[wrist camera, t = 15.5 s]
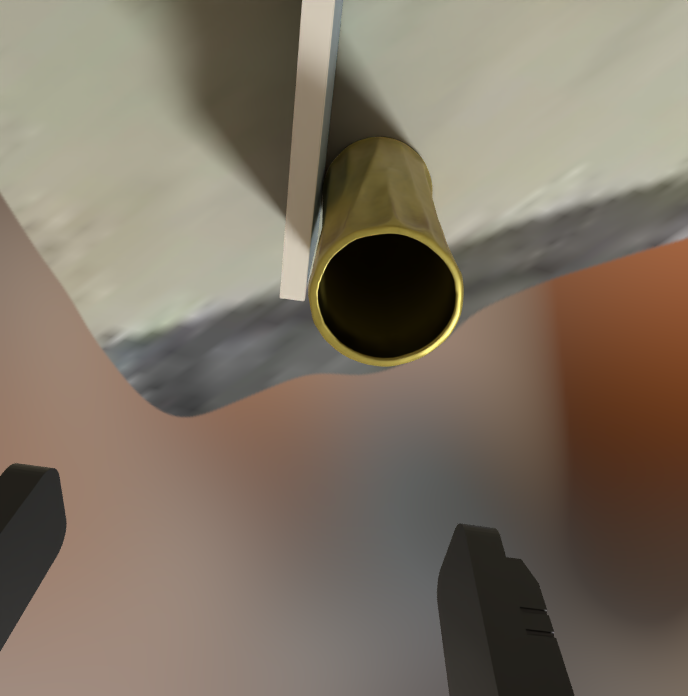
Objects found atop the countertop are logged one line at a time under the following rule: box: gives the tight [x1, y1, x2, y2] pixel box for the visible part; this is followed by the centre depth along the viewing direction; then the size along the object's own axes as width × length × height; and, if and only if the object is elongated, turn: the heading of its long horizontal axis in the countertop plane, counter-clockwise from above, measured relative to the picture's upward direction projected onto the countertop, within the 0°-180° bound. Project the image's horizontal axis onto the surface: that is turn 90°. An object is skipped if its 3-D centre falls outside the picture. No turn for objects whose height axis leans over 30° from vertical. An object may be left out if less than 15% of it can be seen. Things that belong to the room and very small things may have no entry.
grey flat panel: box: [280, 0, 343, 301], centre depth 24 cm, size 14×1×9 cm, turn 173°
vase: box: [308, 137, 464, 366], centre depth 24 cm, size 6×6×14 cm
